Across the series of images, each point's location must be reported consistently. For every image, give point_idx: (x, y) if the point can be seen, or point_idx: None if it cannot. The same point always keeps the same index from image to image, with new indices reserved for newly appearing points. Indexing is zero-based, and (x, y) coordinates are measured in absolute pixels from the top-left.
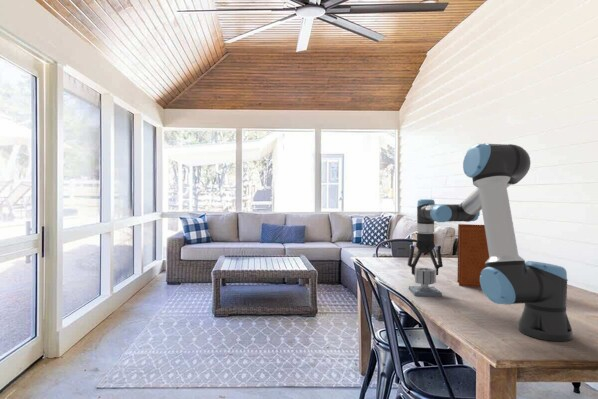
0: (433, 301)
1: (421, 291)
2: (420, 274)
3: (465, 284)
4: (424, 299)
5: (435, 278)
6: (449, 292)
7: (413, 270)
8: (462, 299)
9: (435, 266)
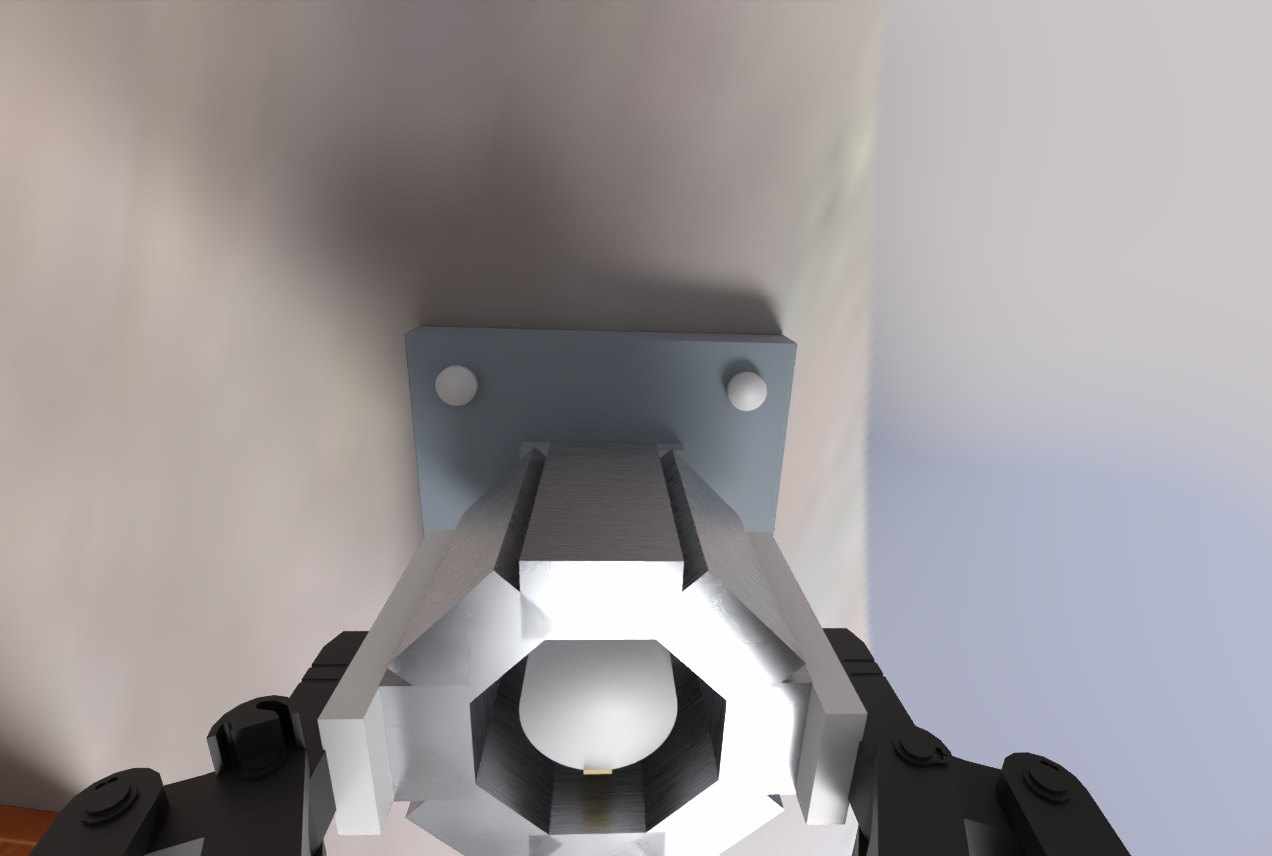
0: (611, 30)
1: (681, 400)
2: (732, 560)
3: (20, 826)
4: (709, 145)
5: (415, 570)
6: (277, 526)
7: (868, 692)
8: (148, 173)
9: (307, 788)
